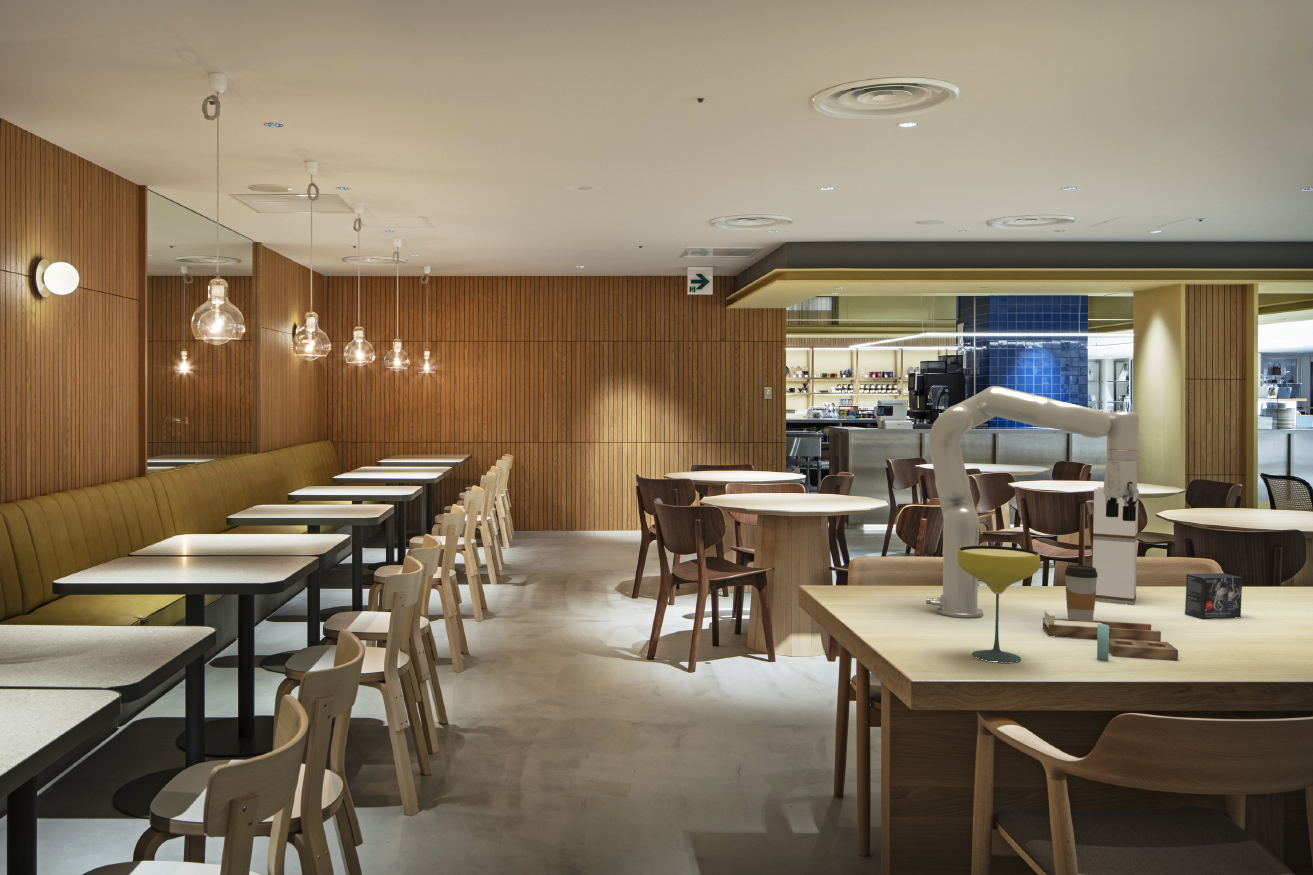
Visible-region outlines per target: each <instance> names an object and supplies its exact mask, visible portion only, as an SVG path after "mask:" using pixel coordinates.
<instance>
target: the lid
mask: <svg viewBox="0 0 1313 875" xmlns="http://www.w3.org/2000/svg"><path fill="white" fill-rule="evenodd" d="M1044 618H1045V619H1044V623H1045V624H1046V625H1047V627H1048V628H1049V624H1054V625H1071V626H1087V627H1098V624H1102V623H1096V622H1079V621H1062V620H1054V618H1055V615H1054V613H1052V611H1050V610H1044Z"/></svg>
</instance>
